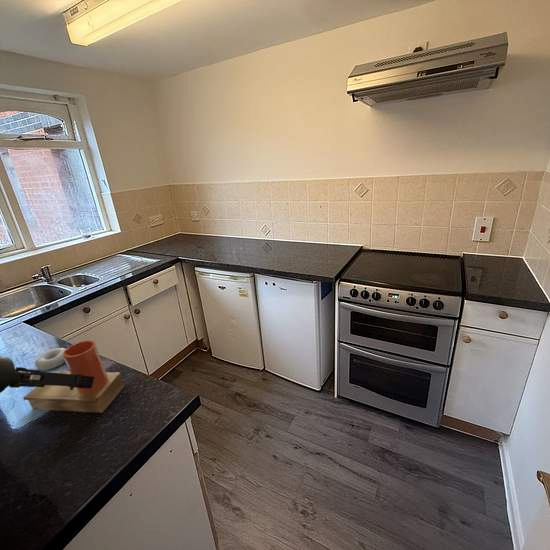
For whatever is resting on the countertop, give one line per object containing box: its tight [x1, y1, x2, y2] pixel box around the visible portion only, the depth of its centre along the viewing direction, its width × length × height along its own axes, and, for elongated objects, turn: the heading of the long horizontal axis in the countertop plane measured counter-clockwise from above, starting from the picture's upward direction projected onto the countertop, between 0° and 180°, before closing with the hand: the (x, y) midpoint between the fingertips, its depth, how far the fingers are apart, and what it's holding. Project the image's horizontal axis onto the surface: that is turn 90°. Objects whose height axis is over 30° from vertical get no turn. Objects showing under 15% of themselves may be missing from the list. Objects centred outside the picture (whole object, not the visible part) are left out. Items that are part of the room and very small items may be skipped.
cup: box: [63, 339, 108, 394], centre depth 81 cm, size 7×7×12 cm
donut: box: [34, 347, 66, 371], centre depth 103 cm, size 10×4×10 cm
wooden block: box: [22, 370, 126, 414], centre depth 85 cm, size 22×11×5 cm, turn 82°
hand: (67, 382), depth 75 cm, fingers open, 13 cm apart
